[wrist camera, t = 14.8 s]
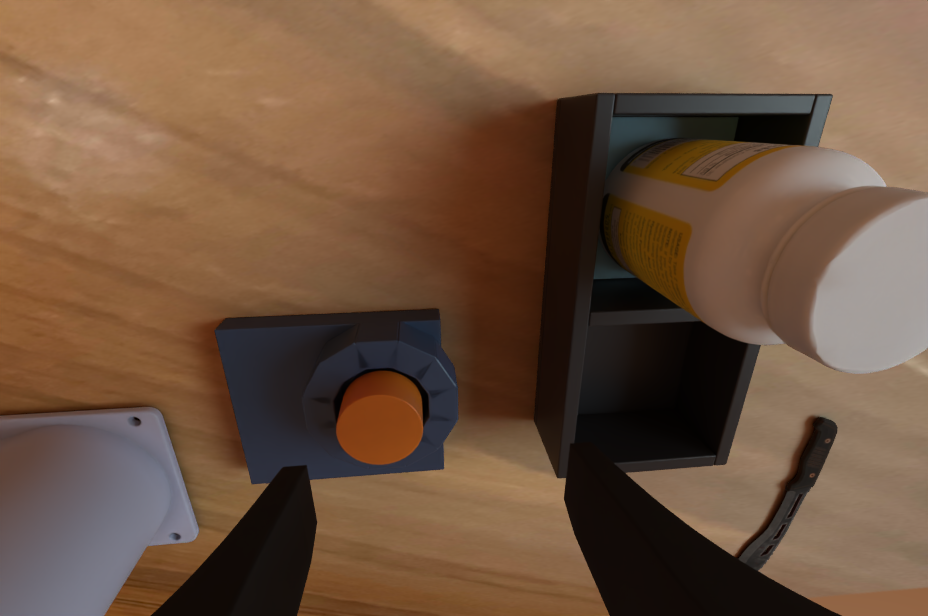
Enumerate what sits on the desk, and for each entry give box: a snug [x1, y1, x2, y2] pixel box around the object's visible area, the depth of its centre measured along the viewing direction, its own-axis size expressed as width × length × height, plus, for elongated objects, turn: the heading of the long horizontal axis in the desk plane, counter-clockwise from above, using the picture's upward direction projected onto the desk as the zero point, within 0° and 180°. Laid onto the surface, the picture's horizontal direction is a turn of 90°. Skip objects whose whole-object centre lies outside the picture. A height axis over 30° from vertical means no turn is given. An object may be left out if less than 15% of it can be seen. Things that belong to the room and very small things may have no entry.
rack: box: [534, 93, 833, 478], centre depth 18 cm, size 8×15×4 cm, turn 0°
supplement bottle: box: [598, 138, 928, 374], centre depth 14 cm, size 5×5×10 cm
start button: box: [336, 371, 423, 465], centre depth 17 cm, size 3×3×2 cm
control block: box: [215, 309, 458, 484], centre depth 19 cm, size 10×8×3 cm
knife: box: [739, 417, 837, 571], centre depth 27 cm, size 16×1×3 cm
